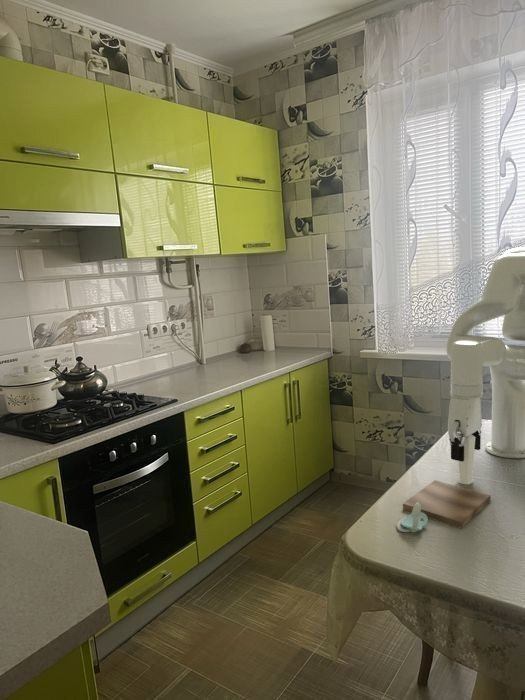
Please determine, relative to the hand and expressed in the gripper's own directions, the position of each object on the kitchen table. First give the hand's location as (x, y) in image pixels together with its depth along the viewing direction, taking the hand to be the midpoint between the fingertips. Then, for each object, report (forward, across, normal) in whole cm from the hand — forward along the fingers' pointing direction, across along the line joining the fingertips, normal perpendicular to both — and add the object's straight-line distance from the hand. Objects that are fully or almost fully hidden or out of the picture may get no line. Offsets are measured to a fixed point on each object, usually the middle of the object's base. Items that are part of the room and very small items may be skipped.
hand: (465, 454), depth 132 cm
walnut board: (+7, +15, +2) cm, 17 cm away
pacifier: (+8, +29, 0) cm, 30 cm away
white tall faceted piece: (+8, 0, 0) cm, 8 cm away
